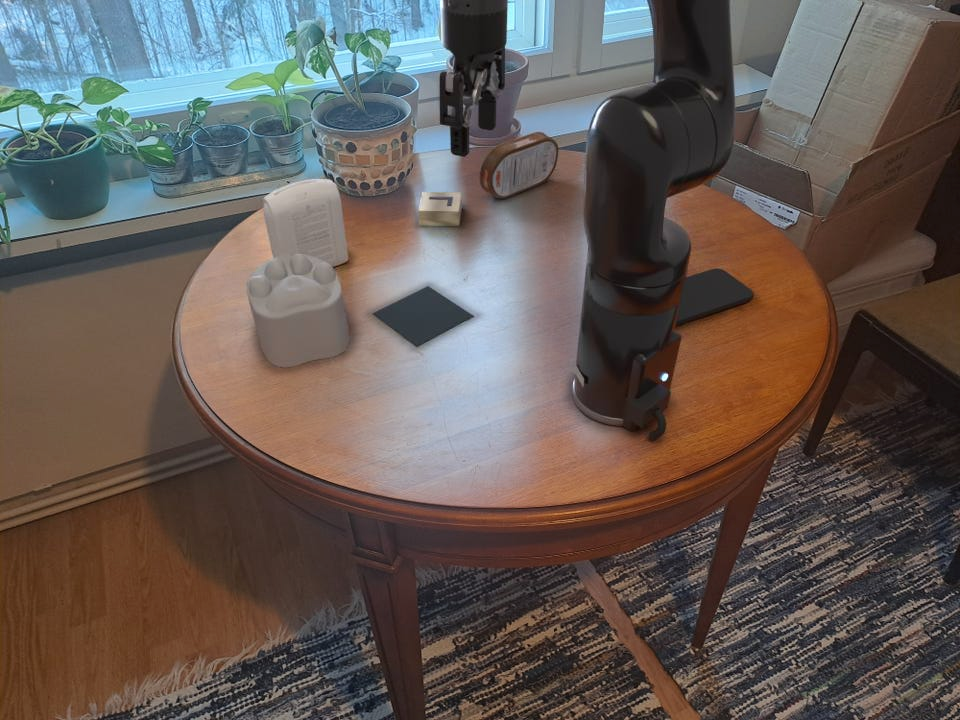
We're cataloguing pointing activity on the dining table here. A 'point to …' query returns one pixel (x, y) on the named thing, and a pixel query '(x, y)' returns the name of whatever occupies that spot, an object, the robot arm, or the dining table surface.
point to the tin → (518, 165)
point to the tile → (440, 209)
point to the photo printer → (307, 221)
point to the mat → (422, 315)
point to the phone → (710, 294)
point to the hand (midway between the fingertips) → (474, 141)
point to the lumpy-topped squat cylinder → (298, 310)
